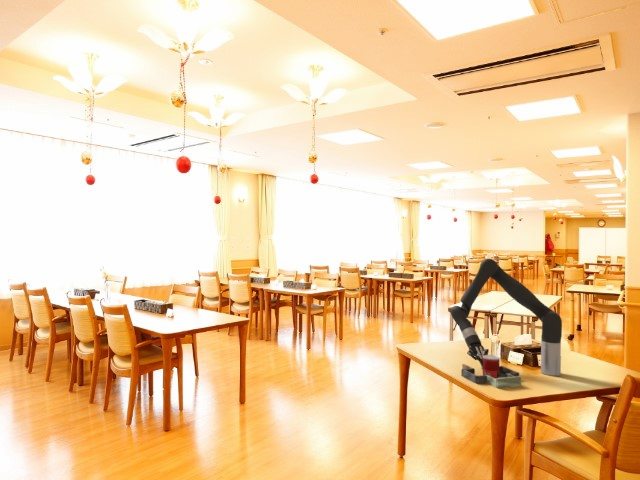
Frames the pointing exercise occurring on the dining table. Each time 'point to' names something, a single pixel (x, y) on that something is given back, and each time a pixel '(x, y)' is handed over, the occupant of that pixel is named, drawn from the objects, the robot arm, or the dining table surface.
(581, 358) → the dining table surface
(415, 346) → the dining table surface
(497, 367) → the canned food
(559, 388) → the dining table surface
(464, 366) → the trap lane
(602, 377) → the dining table surface
